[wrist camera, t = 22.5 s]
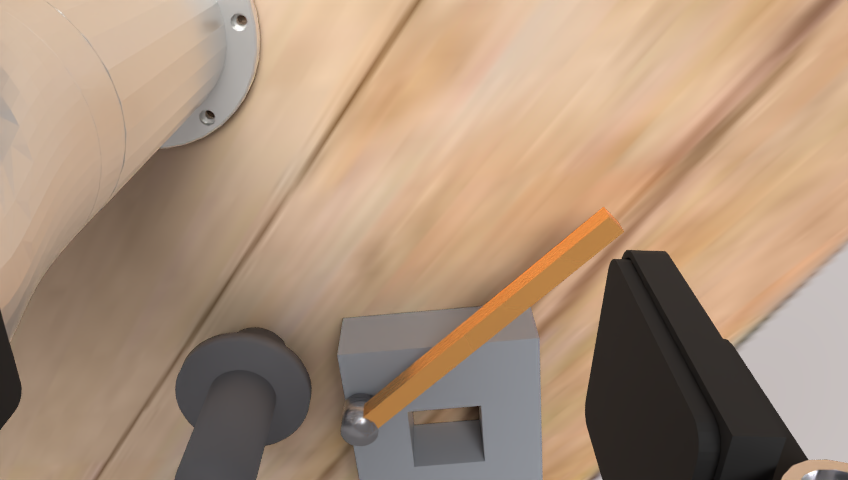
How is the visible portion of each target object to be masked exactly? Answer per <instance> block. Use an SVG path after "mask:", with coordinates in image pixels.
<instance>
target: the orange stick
mask: <svg viewBox="0 0 848 480" xmlns="http://www.w3.org/2000/svg"><path fill="white" fill-rule="evenodd" d="M623 232H624V231H623V229H622V227H621V226H620V224H619V222H618V221H617V220H616V219H615V218H614V217H613V216H612V215H611V214H610V213H609V212H608V211H607V210H606V209H605V208H604V207H603V208H602V209H600V210H599V211H598V212H597V213H596V214H594V215H593V216H592V217H591V218H589V219H588V220H587V221H586V222H585V223H583V224H582V225H581V226H580V227H579V228H577V229H576V230H575V231H574V232H572V233H571V234H570V235H569V236H568V237H566V238H565V239H564V240H563V241H562V242H560V243H559V244H558V245H557V246H555V247H554V248H553V249H552V250H551V251H549V252H548V253H547V254H546V255H545V256H543V257H542V258H541V259H540V260H538V261H537V262H536V263H535V264H534V265H532V266H531V267H530V268H529V269H528V270H526V271H525V272H524V273H523V274H521V275H520V276H519V277H518V278H517V279H515V280H514V281H513V282H512V283H511V284H509V285H508V286H507V287H506V288H504V289H503V290H502V291H501V292H500V293H498V294H497V295H496V296H495V297H494V298H492V299H491V300H490V301H489V302H487V303H486V304H485V305H484V306H483V307H481V308H480V309H479V310H478V311H477V312H475V313H474V314H473V315H472V316H470V317H469V318H468V319H467V320H466V321H464V322H463V323H462V324H461V325H460V326H458V327H457V328H456V329H455V330H453V331H452V332H451V333H450V334H449V335H447V336H446V337H445V338H444V339H442V340H441V341H440V342H439V343H438V344H436V345H435V346H434V347H433V348H432V349H430V350H429V351H428V352H427V353H425V354H424V355H423V356H422V357H421V358H419V359H418V360H417V361H416V362H415V363H413V364H412V365H411V366H410V367H408V368H407V369H406V370H405V371H404V372H402V373H401V374H400V375H399V376H398V377H396V378H395V379H394V380H393V381H391V382H390V383H389V384H388V385H387V386H385V387H384V388H383V389H382V390H381V391H379V392H378V393H377V394H376V395H374V396H372V395H370V394H366V393H356V394H353V395H351V396H350V397H348V398H347V400H346V401H345V403H344V410H343V418H342V425H341V435H342V437H343V439H344V440H345V441H346V442H347V443H349V444H351V445H354V446H366V445H369V444H371V443H373V442H374V441H375V440H376V438H377V437H378V431H379V428H380V427H381V426H382V425H383V424H385V423H386V422H387V421H388V420H390V419H391V418H392V417H393V416H395V415H396V414H397V413H398V412H400V411H401V410H402V409H403V408H405V407H406V406H407V405H408V404H410V403H411V402H412V401H413V400H415V399H416V398H417V397H418V396H420V395H421V394H422V393H423V392H425V391H426V390H427V389H428V388H430V387H431V386H432V385H433V384H435V383H436V382H437V381H438V380H440V379H441V378H442V377H443V376H445V375H446V374H447V373H448V372H450V371H451V370H452V369H453V368H455V367H456V366H457V365H458V364H460V363H461V362H462V361H463V360H465V359H466V358H467V357H468V356H470V355H471V354H472V353H473V352H475V351H476V350H477V349H478V348H480V347H481V346H482V345H483V344H485V343H486V342H487V341H488V340H490V339H491V338H492V337H493V336H494V335H496V334H497V333H498V332H499V331H501V330H502V329H503V328H504V327H506V326H507V325H508V324H509V323H511V322H512V321H513V320H514V319H516V318H517V317H518V316H519V315H521V314H522V313H523V312H524V311H526V310H527V309H528V308H529V307H531V306H532V305H533V304H534V303H536V302H537V301H538V300H539V299H541V298H542V297H543V296H544V295H546V294H547V293H548V292H549V291H551V290H552V289H553V288H554V287H556V286H557V285H558V284H559V283H561V282H562V281H563V280H564V279H566V278H567V277H568V276H569V275H571V274H572V273H573V272H574V271H576V270H577V269H578V268H579V267H581V266H582V265H583V264H584V263H586V262H587V261H588V260H589V259H591V258H592V257H593V256H594V255H596V254H597V253H598V252H599V251H601V250H602V249H603V248H604V247H606V246H607V245H608V244H609V243H611V242H612V241H613V240H614V239H616V238H617V237H618V236H619V235H621V234H622V233H623Z"/></svg>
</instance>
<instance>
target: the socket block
mask: <svg viewBox="0 0 848 480" xmlns="http://www.w3.org/2000/svg"><path fill="white" fill-rule="evenodd" d="M481 307H483V306H479V307H467V308H456V309H444V310H432V311H421V312H409V313H398V314H386V315H374V316H363V317H351V318H343V321H342V328H341V334H340V341H339V347H338V353H337V357H338V362H339V368H340V374H341V379H342V385H343V390H344V396H345V401H346V400H347V398H348V397H350V396H351V395H353V394H356V393H366V394H370V395H372V396H374V395H376V394H377V393H378V392H379V391H381V390H382V389H383V388H384V387H385V386H387V385H388V384H389V383H390V382H391V381H393V380H394V379H395V378H396V377H398V376H399V375H400V374H401V373H402V372H404V371H405V370H406V369H407V368H408V367H410V366H411V365H412V364H413V363H415V362H416V361H417V360H418V359H419V358H421V357H422V356H423V355H424V354H425V353H427V352H428V351H429V350H430V349H432V348H433V347H434V346H435V345H436V344H438V343H439V342H440V341H441V340H442V339H444V338H445V337H446V336H447V335H449V334H450V333H451V332H452V331H453V330H455V329H456V328H457V327H458V326H460V325H461V324H462V323H463V322H464V321H466V320H467V319H468V318H469V317H470V316H472V315H473V314H474V313H475V312H477V311H478V310H479V309H480V308H481ZM472 406H479V417H480V420H469V421H457V422H445V423H433V424H420V425H414V419H413V411H423V410H435V409H447V408H459V407H472ZM353 446H354V445H353ZM354 452H355V457H356V463H357V469H358V474H359V480H542V435H541V389H540V344H539V335H538V331H537V328H536V324H535V321H534V317H533V314H532V310H531V307H529V308H528V309H527V310H526V311H524V312H523V313H522V314H521V315H519V316H518V317H517V318H516V319H514V320H513V321H512V322H511V323H509V324H508V325H507V326H506V327H504V328H503V329H502V330H501V331H499V332H498V333H497V334H496V335H494V336H493V337H492V338H491V339H490V340H488V341H487V342H486V343H485V344H483V345H482V346H481V347H480V348H478V349H477V350H476V351H475V352H473V353H472V354H471V355H470V356H468V357H467V358H466V359H465V360H463V361H462V362H461V363H460V364H458V365H457V366H456V367H455V368H453V369H452V370H451V371H450V372H448V373H447V374H446V375H445V376H443V377H442V378H441V379H440V380H438V381H437V382H436V383H435V384H433V385H432V386H431V387H430V388H428V389H427V390H426V391H425V392H423V393H422V394H421V395H420V396H418V397H417V398H416V399H415V400H413V401H412V402H411V403H410V404H408V405H407V406H406V407H405V408H403V409H402V410H401V411H400V412H398V413H397V414H396V415H395V416H393V417H392V418H391V419H390V420H388V421H387V422H386V423H385V424H383V425H382V426H381V427H380V428H379V431H378V437H377V438H376V440H375V441H374V442H373V443H371V444H369V445H366V446H354Z"/></svg>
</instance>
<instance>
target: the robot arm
mask: <svg viewBox="0 0 848 480" xmlns="http://www.w3.org/2000/svg"><path fill="white" fill-rule="evenodd" d="M239 15H243V16H244V17H246V19H247V23H246V24H241V23H240V22H239V20H238V16H239ZM259 54H260V30H259V23H258V16H257V11H256V8H255V5H254V2H253V0H0V430H1V428H2V427H3V426H4V424H5V423H6V422H7V421H8V419H9V418H10V417H11V415H12V414H13V413H14V412H15V410H16V408H17V407H18V405H19V402H20V399H21V390H22V388H21V382H20V379H19V375H18V371H17V368H16V364H15V360H14V357H13V353H12V350H11V346H10V341H11V339H12V337H13V335H14V333H15V331H16V329H17V326H18V324H19V322H20V320H21V318H22V316H23V314H24V311H25V309H26V307H27V305H28V303H29V301H30V299H31V296H32V295H33V293H34V291H35V289H36V287H37V285H38V284H39V282H40V281H41V279H42V278H43V276H44V275H45V273H46V272H47V270H48V269H49V268H50V266H51V265H52V264H53V262H54V261H55V260H56V258H57V257H58V256H59V255H60V253H61V252H62V251H63V250H64V249H65V247H66V246H67V245H68V244H69V243H70V242H71V241H72V239H73V238H74V237H75V236H76V235H77V234H78V233H79V232H80V231H81V230H82V229H83V228H84V226H85V225H86V224H87V223H88V222H89V221H90V220H91V219H92V218H93V217H94V216H95V215H96V214H97V213H98V212H99V211H100V210H101V209H102V208H103V207H104V206H105V205H106V204H107V203H108V202H109V201H110V200H111V199H112V198H113V197H114V196H115V195H116V194H117V192H118V191H119V190H120V189H121V188H122V187H123V186H124V185H125V184H126V183H127V182H128V181H129V180H130V179H131V178H132V177H133V176H134V175H135V173H136V172H137V171H138V170H139V169H140V168H141V167H142V166H143V165H144V164H145V163H146V162H147V161H148V160H149V159H150V158H151V157H152V156H153V154H154V153H155V152H156V151H157V150H158V149H166V148H171V147H176V146H182V145H186V144H189V143H191V142H194V141H196V140H199V139H201V138H204V137H206V136H207V135H209V134H210V133H212V132H213V131H215V130H216V129H217V128H219V127H220V126H222V125H223V124H224V123H225V122H226V121H227V120H228V119H229V118H230V117H231V116H232V114H233V113H234V112H235V111H236V110H237V109H238V107H239V106H240V105H241V103H242V102H243V100H244V99H245V97H246V95H247V93H248V91H249V89H250V87H251V85H252V83H253V81H254V78H255V74H256V70H257V66H258V61H259ZM207 110H210V111H211V112H213V113H214V115H215V117H210V116H209V115H208V114H207ZM585 418H586V424H587V428H588V432H589V435H590V439H591V442H592V445H593V449H594V452H595V456H596V459H597V462H598V466H599V469H600V473H601V476H602V479H603V480H848V463H844V462H838V461H833V460H827V459H824V460H808V458H807V457H806V456H805V454H804V453H803V451H802V449H801V448H800V446H799V445H798V443H797V442H796V440H795V439H794V437H793V436H792V434H791V433H790V431H789V430H788V428H787V427H786V425H785V424H784V422H783V421H782V419H781V418H780V416H779V414H778V413H777V412H776V410H775V408H774V407H773V405H772V404H771V403H770V401H769V399H768V398H767V396H766V395H765V393H764V392H763V390H762V389H761V388H760V386H759V384H758V383H757V381H756V380H755V378H754V377H753V375H752V374H751V372H750V370H749V369H748V368H747V366H746V364H745V363H744V361H743V360H742V358H741V357H740V355H739V354H738V352H737V351H736V349H735V348H734V346H733V345H732V344H731V343H730V342H729V341H728V340H726V339H723V338H722V337H721V335H720V333H719V332H718V330H717V329H716V327H715V326H714V324H713V323H712V321H711V320H710V318H709V316H708V315H707V313H706V312H705V310H704V309H703V307H702V306H701V304H700V303H699V301H698V299H697V298H696V296H695V295H694V293H693V292H692V290H691V289H690V287H689V285H688V284H687V282H686V281H685V279H684V278H683V276H682V275H681V273H680V272H679V270H678V268H677V267H676V265H675V264H674V262H673V261H672V259H671V258H670V256H669V255H668V253H667V252H665V251H639V250H626V251H625V253H624V254H623V257H622V259H613V260H612V261H611V262H610V265H609V269H608V275H607V280H606V286H605V292H604V298H603V304H602V309H601V315H600V321H599V327H598V333H597V338H596V344H595V350H594V356H593V361H592V367H591V373H590V379H589V385H588V390H587V396H586V403H585Z"/></svg>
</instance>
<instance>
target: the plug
mask: <svg viewBox="0 0 848 480" xmlns="http://www.w3.org/2000/svg"><path fill="white" fill-rule="evenodd" d="M175 391H176V399H177V403H178V405H179V408H180V410H181V412H182V413H183V415H184V416H185V418H186V419H187V420H188V422H189V423H190V424H191V425H192V426H193V427H194V430H193V432H192V435H191V437H190V440H189V442H188V445H187V447H186V450H185V452H184V455H183V457H182V460H181V462H180V465H179V467H178V470H177V472H176V475H175V480H256V478H257V474H258V470H259V466H260V462H261V458H262V454H263V451H264V447H265V446H267V445H271V444H274V443H276V442H279V441H281V440H283V439H285V438H287V437H288V436H290V435H291V434H293V433H294V432H295V431H296V430H297V429H298V428H299V427H300V425H301V424H302V423H303V421H304V419H305V417H306V415H307V412H308V408H309V403H310V398H311V381H310V377H309V374H308V372H307V369H306V367H305V366H304V364H303V363H302V361H301V360H300V359H299V358H298V357H297V355H296V354H295V353H293V352H292V351H291V350H290V349H289V348H287V347H286V345H285V343H284V342H283V340H282V339H281V338H280V337H279V336H278V335H276V334H275V333H273V332H271V331H269V330H267V329H263V328H256V327H254V328H246V329H243V330H240V331H238V332H234V333H226V334H221V335H217V336H214V337H212V338H209V339H207V340H205V341H204V342H202V343H200V344H199V345H198V346H196V347H195V348H194V349H193V350H192V351H191V352H190V353H189V355H188V356H187V358H186V359H185V361H184V364H183V366H182V368H181V370H180V372H179V374H178V377H177V380H176V388H175Z"/></svg>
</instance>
